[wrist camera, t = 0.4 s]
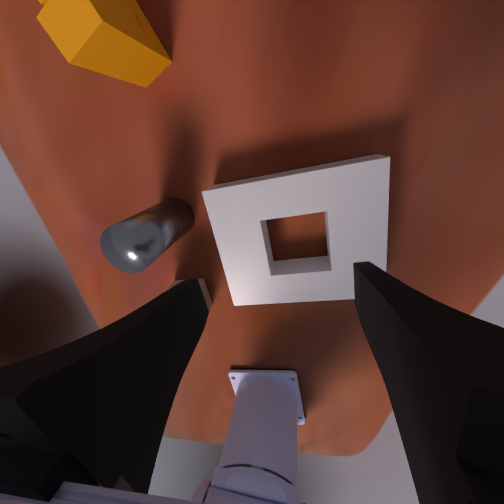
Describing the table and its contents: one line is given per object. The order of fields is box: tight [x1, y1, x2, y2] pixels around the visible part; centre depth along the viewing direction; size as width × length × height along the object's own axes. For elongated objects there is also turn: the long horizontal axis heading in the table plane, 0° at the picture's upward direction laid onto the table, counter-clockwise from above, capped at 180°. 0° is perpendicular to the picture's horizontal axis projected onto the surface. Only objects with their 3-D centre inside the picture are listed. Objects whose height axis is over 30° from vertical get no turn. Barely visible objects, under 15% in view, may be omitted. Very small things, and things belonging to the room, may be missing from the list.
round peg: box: [100, 198, 194, 273], centre depth 17 cm, size 3×3×7 cm
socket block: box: [202, 154, 390, 306], centre depth 18 cm, size 10×12×2 cm
